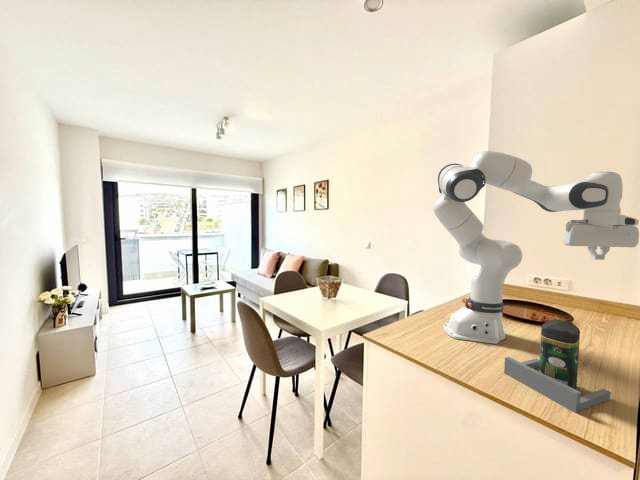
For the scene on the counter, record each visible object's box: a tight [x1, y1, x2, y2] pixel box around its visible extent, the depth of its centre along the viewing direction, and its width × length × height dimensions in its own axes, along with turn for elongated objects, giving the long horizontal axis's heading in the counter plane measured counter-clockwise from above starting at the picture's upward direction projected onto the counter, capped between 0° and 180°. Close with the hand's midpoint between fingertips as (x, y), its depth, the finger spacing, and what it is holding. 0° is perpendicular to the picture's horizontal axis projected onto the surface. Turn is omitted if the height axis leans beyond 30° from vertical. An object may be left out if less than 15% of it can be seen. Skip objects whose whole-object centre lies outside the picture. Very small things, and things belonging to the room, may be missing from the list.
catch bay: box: [503, 356, 612, 414], centre depth 76 cm, size 14×18×5 cm
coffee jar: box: [538, 318, 581, 390], centre depth 75 cm, size 10×8×19 cm
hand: (597, 259), depth 94 cm, fingers closed
